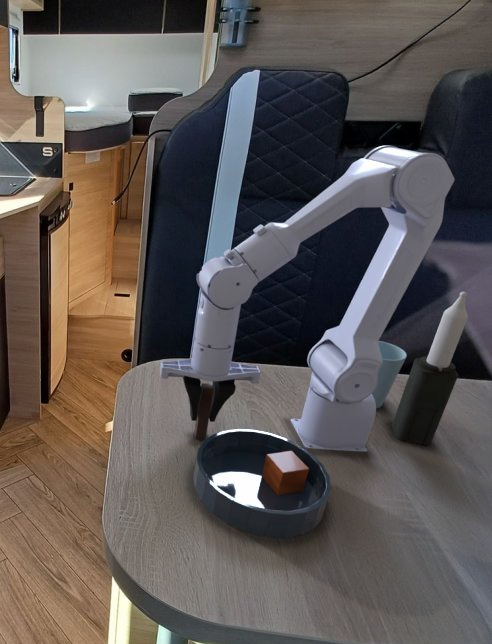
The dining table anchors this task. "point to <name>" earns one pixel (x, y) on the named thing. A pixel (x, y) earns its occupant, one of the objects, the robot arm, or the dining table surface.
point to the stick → (203, 411)
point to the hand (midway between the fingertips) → (202, 417)
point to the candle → (431, 381)
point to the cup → (388, 370)
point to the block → (285, 472)
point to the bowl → (257, 484)
